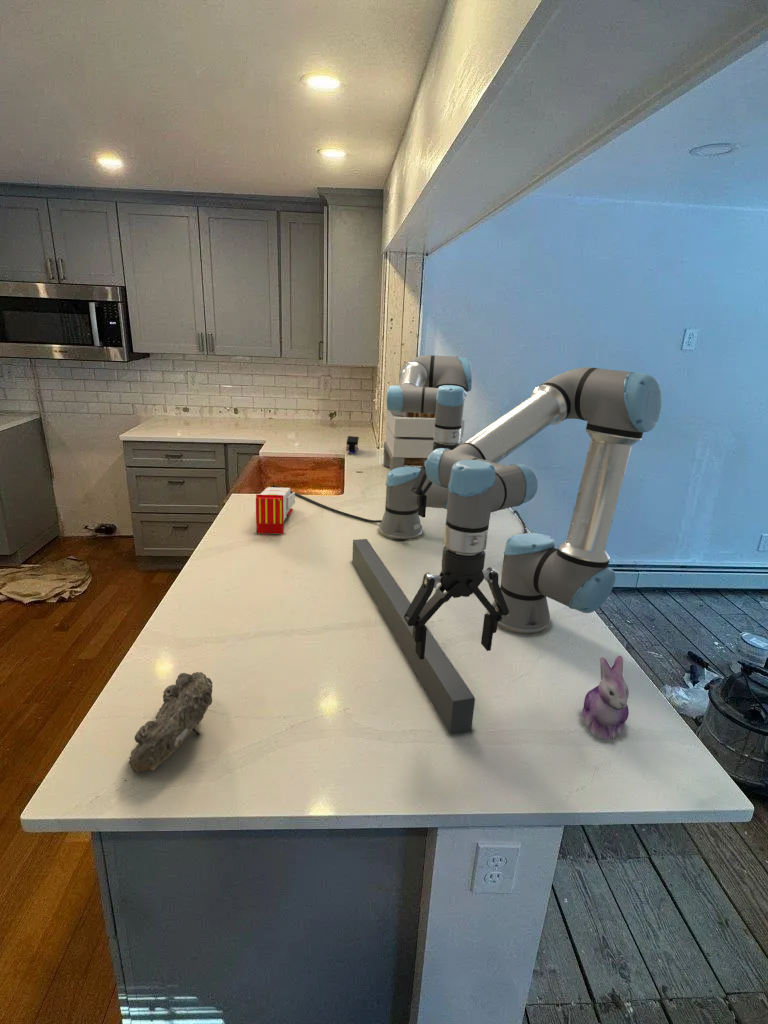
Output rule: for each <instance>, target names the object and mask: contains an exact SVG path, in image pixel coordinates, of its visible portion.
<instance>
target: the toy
mask: <svg viewBox="0 0 768 1024" xmlns="http://www.w3.org/2000/svg"><path fill="white" fill-rule="evenodd" d="M290 491H291V487H281V488H276V487H270V486H268V487H266V488H265V489H264V490H262V491H261V492H260V494H256V495H255V523H256V534H270V535H271V534H274V535H283V534H284V533H285V532H284V531H285V530H284V528H285V527H284V525H285V524H284V521H285V520H286V518H287V517H289V516H290V515H291V513H292V512H293V508H292V507H293V506H294V505H295V504H296V495H295V493H296V492H295V491H292V492H293V493H292V494H291V493H290Z"/></svg>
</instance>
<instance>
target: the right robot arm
mask: <svg viewBox="0 0 768 1024" xmlns="http://www.w3.org/2000/svg"><path fill="white" fill-rule="evenodd" d="M661 410H662V390H661V387H660V384H659V382H658V380H657V379H656V378H655V377H653V376H652V375H650V374H645V373H642V372H641V373H640V372H636V371H628V370H627V371H626V370H616V369H615V370H614V369H609V368H608V369H607V368H597V367H591V366H586V367H578V368H574V369H571V370H567V371H564V372H562V373H560V374H557V375H555V376H553V377H551V378H549V379H547V380H546V381H544V382H542V383H541V384H539V385H537V386H536V387H535V388H534V389H533V390H532V391H531V394H530V396H529V397H528V398H526V399H525V400H524V401H522V402H520V403H519V404H518V405H516V406H515V407H513V408H512V409H510V410H509V411H507V412H506V413H505V414H503V415H502V416H500V417H499V418H497V419H496V420H494V421H493V422H492V423H489V425H487V426H486V427H484V428H482V429H481V430H480V431H479V432H477V433H475V434H474V435H472V436H471V437H469V438H468V439H466V440H465V441H463V443H462V444H461V445H459V446H458V447H456V448H455V449H453V450H450V449H448V448H446V449H444V448H438V449H435V450H434V451H433V452H431V454H430V455H429V456H428V458H427V461H426V465H425V471H426V476H427V478H428V479H429V480H430V481H431V482H432V483H434V484H437V485H439V486H441V487H442V488H446V489H449V492H448V505H447V509H446V519H445V525H444V526H445V527H444V534H443V545H444V546H443V548H442V554H441V555H442V558H441V569H440V572H439V574H431V573H430V572H429V571H428V572H425V573H424V574H423V578H422V583H421V585H420V587H419V589H418V590H417V592H416V593H415V596H414V597H413V599H412V601H411V602H410V603H411V604H410V606H409V608H408V609H407V611H406V613H405V615H404V619H405V621H406V623H407V624H408V626H413V632H412V637H413V639H414V641H415V642H416V649H415V652H416V653H417V655H418V657H419V658H420V660H421V659H424V654H425V643H426V632H427V628H428V627H427V625H426V624H427V623H428V622H429V620H430V619H431V618H432V617H433V616H434V615H435V614H436V613H437V611H438V610H439V609H440V608H441V607H442V606H443V605H444V604H445V603H447V602H449V601H450V600H451V598H453V599H458V598H461V597H464V598H468V597H470V596H471V595H474V596H475V597H476V598H477V599H478V602H480V603H481V605H482V606H483V607H484V608H485V609H486V611H487V612H488V613H484V616H483V623H482V631H481V632H482V633H481V639H480V644H481V646H482V647H483V648H484V649H485V650H486V651H487V652H491V651H492V645H493V637H494V636H493V635H494V634H496V633H497V631H498V628H500V629H501V630H504V631H506V632H508V633H513V634H517V635H524V636H526V635H527V636H529V635H532V636H533V635H539V634H541V633H544V632H546V631H547V630H548V629H549V627H550V624H551V623H550V622H551V613H550V609H549V604H548V599H547V598H549V599H551V600H553V601H556V603H560V604H562V605H564V606H566V607H568V608H569V609H571V610H576V611H578V612H581V613H583V614H591V613H594V612H595V611H597V610H598V609H599V608H601V606H603V605H604V603H605V602H606V601H607V599H608V598H609V597H610V595H611V593H612V591H613V589H614V586H615V584H616V572H615V571H614V570H613V569H612V568H611V567H609V564H610V561H611V557H610V555H609V554H608V552H607V551H606V547H607V542H608V540H609V536H610V532H611V528H612V524H613V520H614V516H615V513H616V510H617V505H618V502H619V497H620V493H621V489H622V485H623V483H624V478H625V473H626V470H627V467H628V462H629V459H630V455H631V451H632V448H633V446H634V445H635V444H637V443H638V442H640V441H642V439H643V434H644V433H648V432H650V431H652V430H653V429H654V428H655V427H656V425H657V424H656V423H657V422H658V421H659V419H660V414H661ZM565 420H581V421H584V422H586V426H585V432H586V433H587V435H588V436H589V439H590V441H589V445H588V448H587V454H586V456H585V457H586V458H585V461H584V466H583V470H582V473H581V478H580V482H579V486H578V489H577V490H578V491H577V495H576V499H575V503H574V507H573V512H572V517H571V520H570V523H569V527H568V531H567V536H566V540H565V541H563V542H562V543H560V544H558V545H557V548H556V547H555V546H556V542H555V539H554V537H552V536H550V535H546V534H544V533H543V534H542V533H535V532H527V527H526V523H525V522H524V520H523V518H522V517H521V515H520V514H519V512H518V511H517V510H515V509H514V510H513V512H512V513H513V514H516V516H517V518H518V519H519V520H520V523H521V524H522V526H523V531H524V533H517V534H514V535H512V536H510V537H509V538H508V539H507V540H506V542H505V548H504V551H503V559H502V560H503V561H502V570H501V576H500V577H501V578H500V583H499V573H498V572H497V571H496V570H495V569H494V568H493V567H491V566H489V567H487V569H486V570H484V569H485V562H486V551H485V550H486V549H487V544H488V543H487V542H488V537H489V536H488V535H489V526H490V520H491V519H490V518H491V513H495V512H498V511H502V510H506V509H510V508H516V507H520V506H521V505H522V504H525V503H528V502H530V501H531V500H532V499H533V498H534V497H535V496H536V494H537V492H538V489H539V488H538V486H539V481H538V478H537V475H536V473H535V471H534V470H533V469H532V468H531V467H530V466H528V465H527V464H521V463H519V464H518V463H517V464H516V463H512V464H509V465H505V464H501V463H500V462H501V461H502V460H504V459H505V458H507V457H508V456H510V455H511V454H513V452H515V451H516V450H517V449H519V448H520V447H522V446H523V445H524V444H526V443H527V442H528V441H530V440H531V439H533V438H534V437H535V436H537V435H538V434H540V433H541V432H543V431H544V430H545V429H546V428H548V427H549V426H556V425H558V424H561V423H562V422H564V421H565ZM525 528H526V529H525ZM484 580H485V582H487V585H488V587H489V590H490V593H491V595H492V597H493V598H492V599H493V601H492V603H491V602H490V600H489V599H488V598H487V597H486V596H485V594H484V593H483V591H482V590H481V589H480V585H481V584H482V583H483V581H484ZM438 584H439V585H438ZM437 585H438V587H437ZM434 589H435V593H434V594H432V593H433V591H434ZM425 625H426V626H425ZM426 627H427V628H426Z"/></svg>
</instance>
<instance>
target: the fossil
mask: <svg viewBox="0 0 768 1024" xmlns="http://www.w3.org/2000/svg"><path fill="white" fill-rule="evenodd" d="M212 694H213V681H212V679H211V678H210V677H207V674H205V673H203V672H201V671H200V672H199V671H195V672H193V673H192V674H191V673H186V672H181V673H179V675H178V676H177V678H176V680H175V684H174V683H173V684H171V685H168V686H167V687H166V688H165V689H164V691H163V694H162V701H163V703H162V705H161V706H160V708H159V710H158V712H157V714H156V715H155V720H148V721H146V722H145V723H144V725H141V726H140V728H139V729H138V730H137V732H136V733H135V735H134V741H135V743H137V744H136V746H135V747H134V748H133V750H131V751H130V756H129V757H128V759H129V760H128V765H129V768H130V769H131V770H134V771H136V772H139V773H141V772H144V771H150V770H152V771H154V770H155V769H157V768H158V767H159V766H160V765H161V764H162V763H163V762H165V760H167V759H168V758H169V757H170V756H171V755H172V754H173V753H174V752H175V751H176V750H177V749H178V748H179V747H181V746H182V743H184V740H185V738H187V737H188V736H190V734H191V732H194V733H195V735H197V736H200V735H201V733H200V732H199V731H198V730H197V728H196V727H195V726H196V725H199V724H200V723H201V721H202V720H203V719H204V716H205V714H206V712H207V710H208V708H209V706H211V705H212V703H213V696H212Z"/></svg>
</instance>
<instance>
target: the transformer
mask: <svg viewBox="0 0 768 1024" xmlns="http://www.w3.org/2000/svg"><path fill="white" fill-rule="evenodd" d="M385 414H386V415H385V423H386V428H385V438H384V442H383V466H384V467H388V468H389V472H390V471H391V470H393V469H396V468H399V467H405V466H406V467H417V466H418V467H422V464H423V461H424V460H427V458H428V456H429V455H430V454H431V452H433V443H434V439H433V438H434V427H435V416H436V414H426V413H410V412H396V411H389V410H388V409H387V408H386V413H385ZM464 429H465V419H464V418H462V427H461V438H460V442H459V444H460V445H461V444H462V443H464V441H463V440H462V439H463V438H464V431H465V430H464Z"/></svg>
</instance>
